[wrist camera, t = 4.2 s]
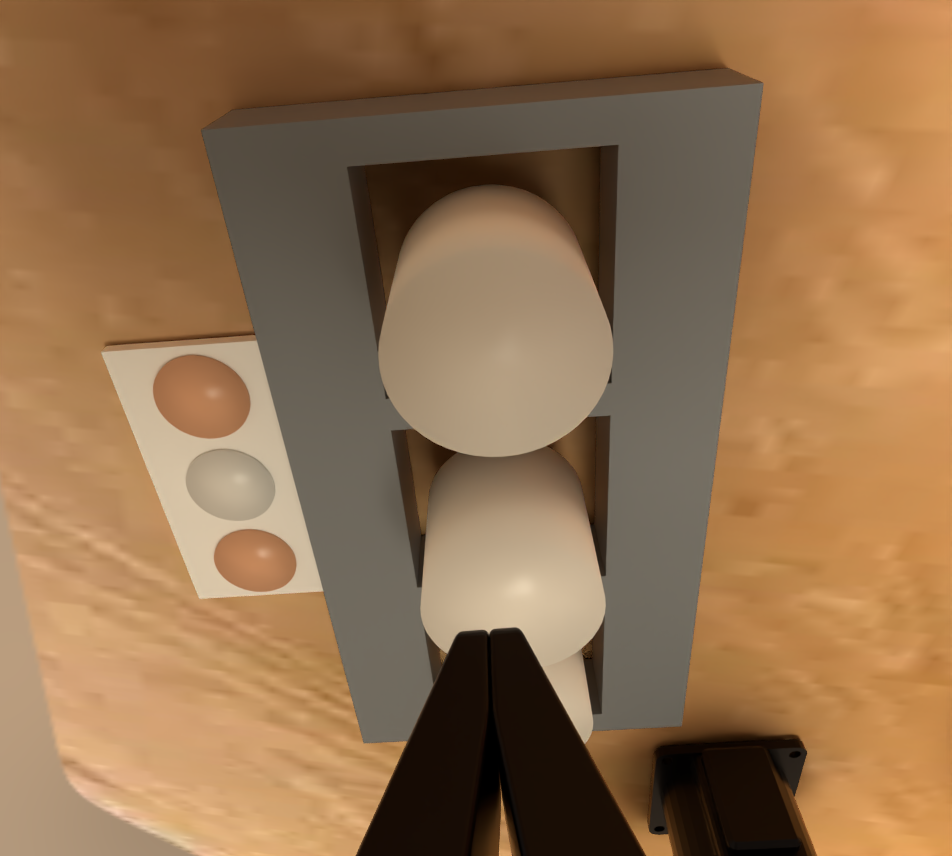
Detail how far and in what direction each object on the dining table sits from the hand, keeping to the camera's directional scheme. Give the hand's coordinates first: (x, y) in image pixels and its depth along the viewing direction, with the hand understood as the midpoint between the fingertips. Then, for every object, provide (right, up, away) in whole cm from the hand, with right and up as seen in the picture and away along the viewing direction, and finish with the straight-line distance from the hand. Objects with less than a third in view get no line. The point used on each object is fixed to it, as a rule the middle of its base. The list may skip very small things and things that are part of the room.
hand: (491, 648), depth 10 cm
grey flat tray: (+1, +2, +14) cm, 14 cm away
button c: (0, +7, +8) cm, 11 cm away
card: (-8, +1, +14) cm, 16 cm away
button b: (+1, +1, +12) cm, 12 cm away
